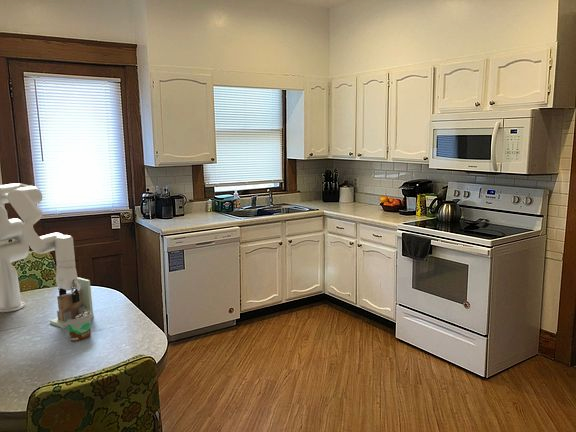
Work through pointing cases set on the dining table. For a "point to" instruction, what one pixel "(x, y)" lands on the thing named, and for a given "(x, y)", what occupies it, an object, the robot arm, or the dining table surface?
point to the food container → (80, 326)
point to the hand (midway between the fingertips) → (69, 300)
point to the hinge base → (86, 304)
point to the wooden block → (68, 305)
